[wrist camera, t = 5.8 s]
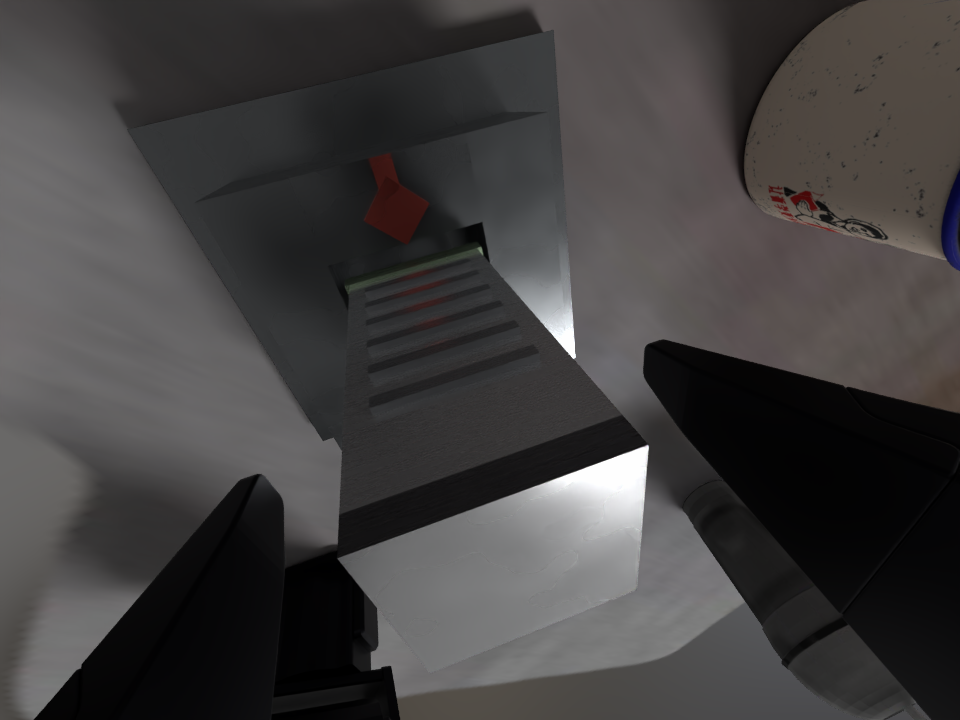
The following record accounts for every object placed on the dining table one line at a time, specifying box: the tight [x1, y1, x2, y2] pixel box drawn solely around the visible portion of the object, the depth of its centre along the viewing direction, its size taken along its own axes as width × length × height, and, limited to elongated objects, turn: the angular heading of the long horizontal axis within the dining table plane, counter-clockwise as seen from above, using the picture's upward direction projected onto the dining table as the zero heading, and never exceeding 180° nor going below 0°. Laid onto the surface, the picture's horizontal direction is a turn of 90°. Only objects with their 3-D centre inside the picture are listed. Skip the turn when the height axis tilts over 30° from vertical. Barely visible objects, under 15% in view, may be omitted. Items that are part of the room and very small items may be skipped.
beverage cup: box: [683, 480, 927, 720], centre depth 27 cm, size 7×7×20 cm
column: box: [337, 241, 649, 673], centre depth 9 cm, size 4×4×9 cm
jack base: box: [127, 30, 575, 450], centre depth 15 cm, size 14×14×5 cm
